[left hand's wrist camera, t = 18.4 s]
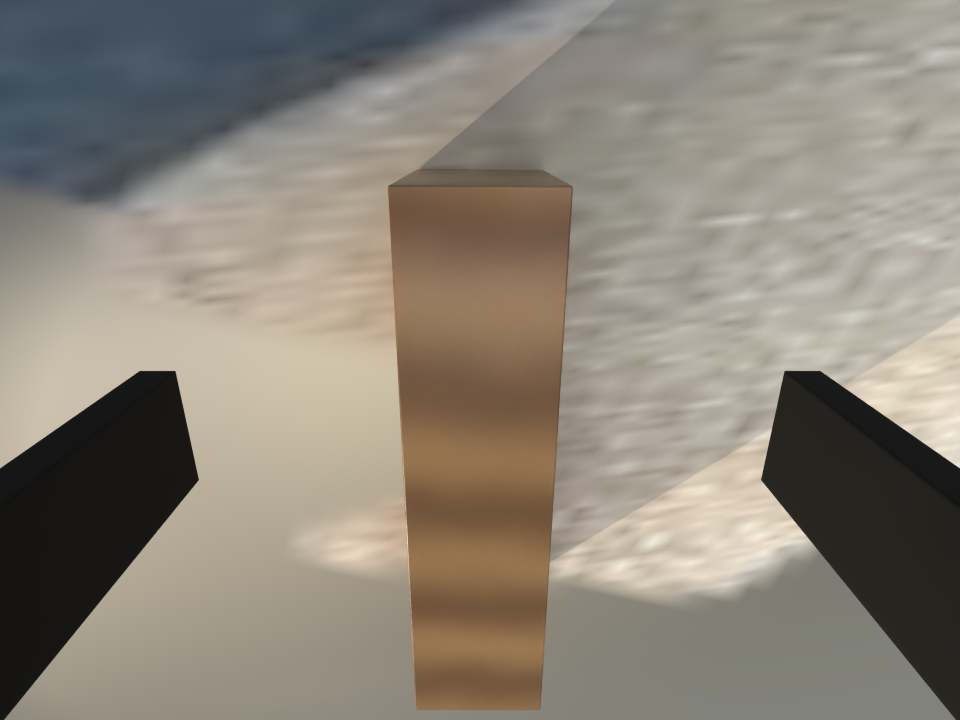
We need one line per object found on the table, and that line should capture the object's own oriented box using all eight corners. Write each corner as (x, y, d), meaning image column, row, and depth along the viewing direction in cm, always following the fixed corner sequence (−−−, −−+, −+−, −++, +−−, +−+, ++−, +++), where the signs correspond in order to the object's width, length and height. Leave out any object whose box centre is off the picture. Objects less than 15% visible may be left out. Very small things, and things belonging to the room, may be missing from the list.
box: (416, 169, 33) (387, 185, 23) (544, 170, 33) (573, 186, 23) (430, 577, 44) (415, 710, 34) (526, 577, 44) (540, 710, 34)
